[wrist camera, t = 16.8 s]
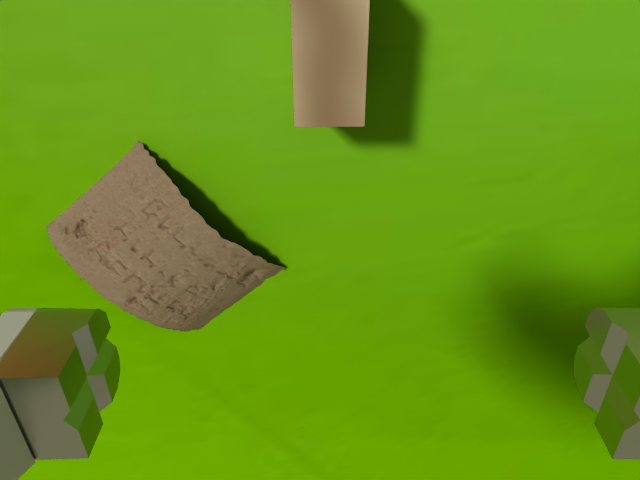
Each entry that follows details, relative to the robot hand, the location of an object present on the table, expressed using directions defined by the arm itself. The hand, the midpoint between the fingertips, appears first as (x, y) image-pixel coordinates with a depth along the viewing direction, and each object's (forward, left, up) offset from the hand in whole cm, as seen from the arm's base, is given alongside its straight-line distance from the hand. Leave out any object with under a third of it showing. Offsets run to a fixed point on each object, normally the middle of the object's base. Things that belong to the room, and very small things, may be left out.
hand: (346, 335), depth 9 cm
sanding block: (0, 0, -24) cm, 24 cm away
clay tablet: (+11, +14, -25) cm, 30 cm away
